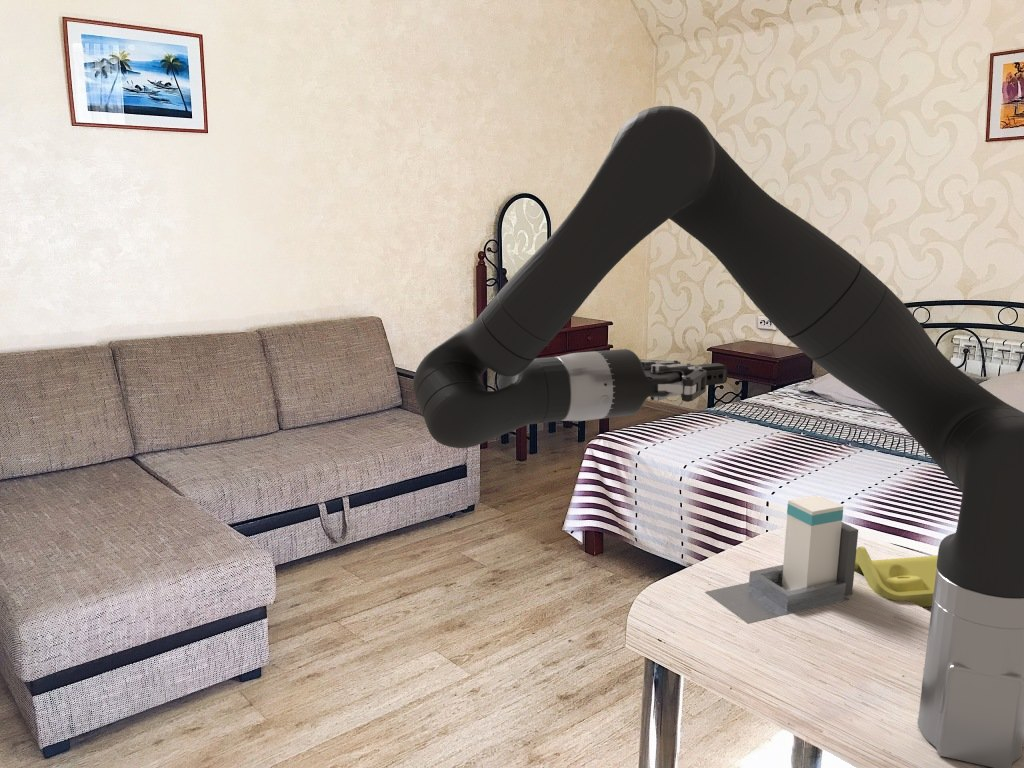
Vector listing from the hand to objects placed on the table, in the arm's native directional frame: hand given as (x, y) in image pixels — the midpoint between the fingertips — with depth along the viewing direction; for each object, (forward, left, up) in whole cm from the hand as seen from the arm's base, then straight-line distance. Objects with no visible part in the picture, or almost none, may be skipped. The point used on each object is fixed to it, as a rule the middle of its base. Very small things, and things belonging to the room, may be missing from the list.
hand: (723, 372), depth 100 cm
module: (+11, -11, -30) cm, 34 cm away
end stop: (+13, -14, -32) cm, 37 cm away
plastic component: (+19, -27, -32) cm, 46 cm away
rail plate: (+7, -7, -32) cm, 34 cm away
